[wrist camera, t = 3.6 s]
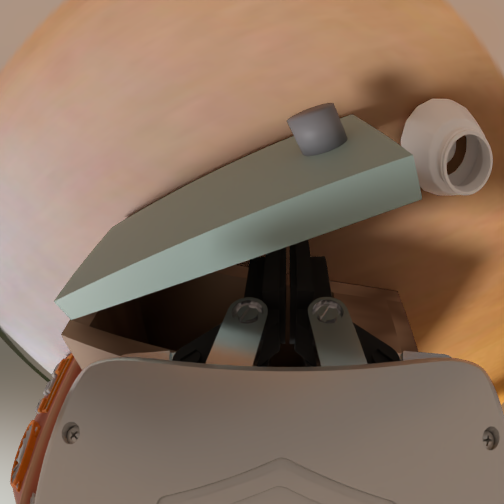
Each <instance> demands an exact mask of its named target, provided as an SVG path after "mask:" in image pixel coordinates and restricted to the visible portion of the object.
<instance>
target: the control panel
mask: <svg viewBox="0 0 504 504" xmlns="http://www.w3.org/2000/svg"><path fill="white" fill-rule="evenodd" d="M81 371H82V369H81V367H80V366H79V364H78V363H77V361H76V359H75V358H74V356H73V354H72V353H70V354H69V355H68V356H67V357H66V358H65V359H63V360H62V361H61V362H60V363H59V364H58V365H57V366H56V367H55V369H54V371H53V373H52V377H53V379H52V380H51V381H50V382H48V384H47V386H46V388H45V390H44V392H43V393H44V395H45V397H44V398H43V399H42V400H40V401H39V403H38V405H37V408H36V410H35V412H36V413H37V415H36V417H35V420H32V421H31V423H30V424H29V426H28V427H27V430H26V431H25V433H24V436H23V438H22V440H21V443H20V446H19V448H18V451H17V454H16V457H15V461H14V465H13V469H12V473H11V486H12V487H13V492H14V497H15V500H16V504H34V503H35V496H36V491H37V486H38V481H39V477H40V472H41V468H42V464H43V460H44V456H45V453H46V449H47V446H48V443H49V440H50V437H51V434H52V431H53V428H54V425H55V423H56V420H57V417H58V414H59V412H60V410H61V407H62V405H63V403H64V400H65V398H66V396H67V394H68V392H69V390H70V388H71V386H72V385H73V383H74V381H75V379H76V378H77V376H78V375H79V374H80V373H81Z"/></svg>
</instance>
